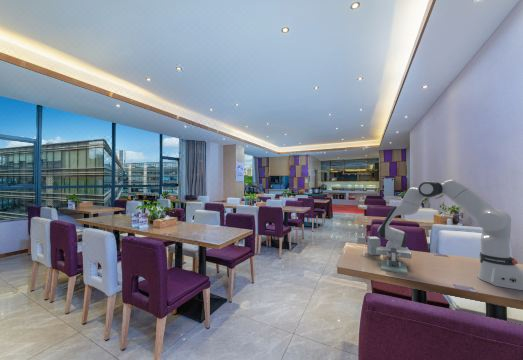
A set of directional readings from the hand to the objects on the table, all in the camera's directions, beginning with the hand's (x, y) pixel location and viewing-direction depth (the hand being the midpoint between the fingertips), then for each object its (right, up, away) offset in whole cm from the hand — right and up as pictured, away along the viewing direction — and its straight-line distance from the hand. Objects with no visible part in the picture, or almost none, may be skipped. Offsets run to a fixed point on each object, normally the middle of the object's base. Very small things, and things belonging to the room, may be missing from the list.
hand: (393, 255), depth 142 cm
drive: (0, -5, +1) cm, 5 cm away
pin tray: (0, -8, +1) cm, 8 cm away
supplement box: (+1, -8, +27) cm, 29 cm away
